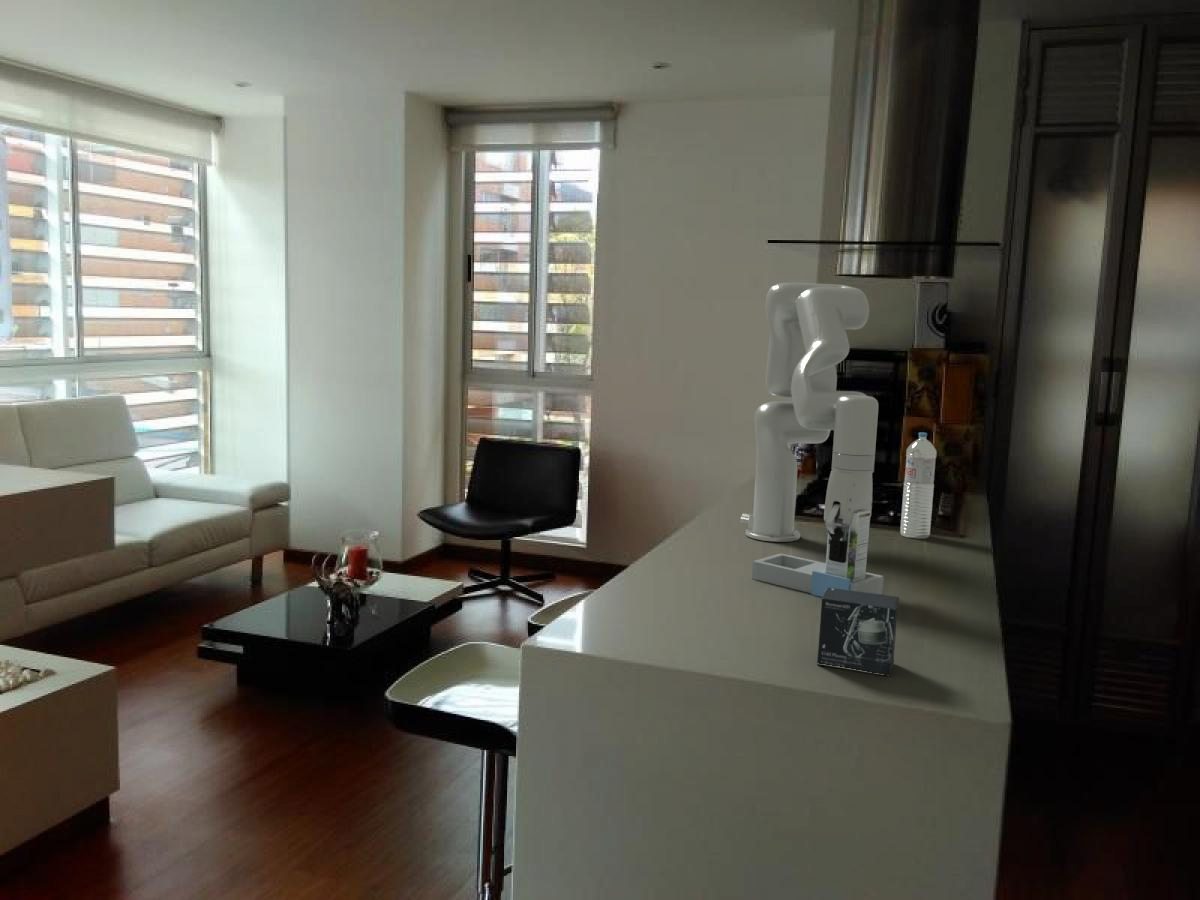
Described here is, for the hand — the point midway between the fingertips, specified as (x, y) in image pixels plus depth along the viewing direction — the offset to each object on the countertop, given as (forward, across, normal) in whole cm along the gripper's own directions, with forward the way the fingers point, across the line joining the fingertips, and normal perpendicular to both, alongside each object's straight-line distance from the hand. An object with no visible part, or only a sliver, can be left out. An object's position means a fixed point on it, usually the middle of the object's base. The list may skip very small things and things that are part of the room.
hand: (846, 557), depth 178 cm
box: (+7, +33, +20) cm, 39 cm away
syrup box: (+5, 0, 0) cm, 5 cm away
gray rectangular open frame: (+7, 0, -6) cm, 9 cm away
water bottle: (+7, -58, -13) cm, 60 cm away
